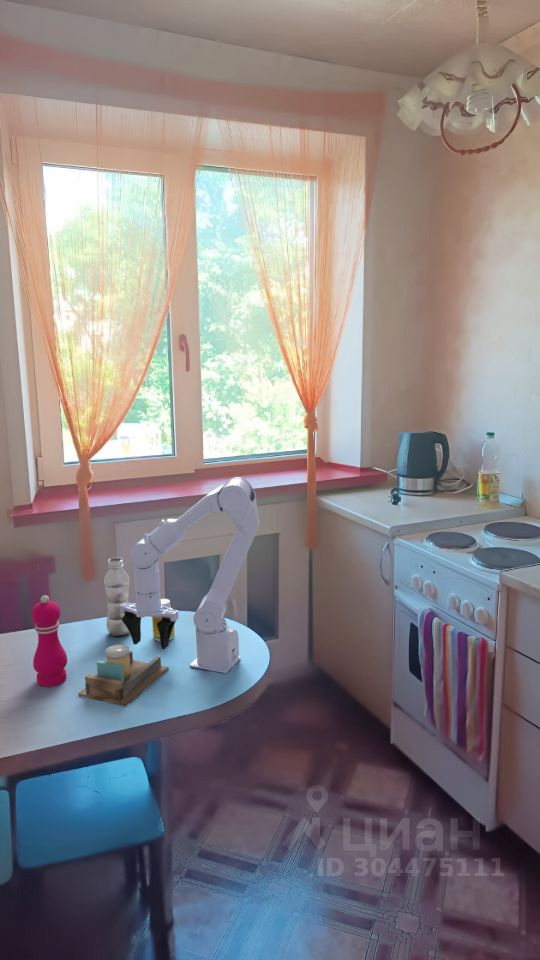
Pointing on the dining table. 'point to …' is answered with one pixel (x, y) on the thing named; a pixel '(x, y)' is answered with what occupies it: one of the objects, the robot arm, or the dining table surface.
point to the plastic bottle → (116, 596)
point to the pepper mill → (48, 644)
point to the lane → (128, 690)
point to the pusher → (110, 670)
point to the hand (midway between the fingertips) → (150, 645)
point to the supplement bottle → (155, 620)
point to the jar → (120, 658)
